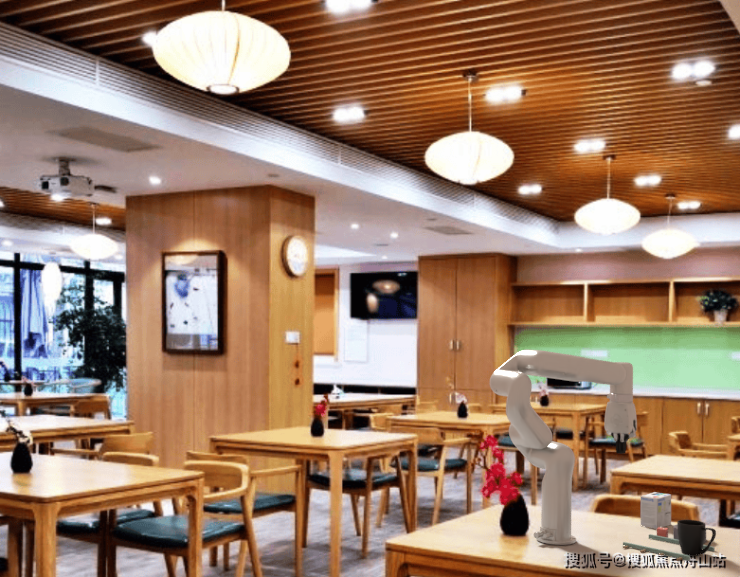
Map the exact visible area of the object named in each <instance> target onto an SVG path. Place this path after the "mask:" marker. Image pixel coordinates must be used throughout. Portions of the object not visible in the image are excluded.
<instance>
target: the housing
mask: <svg viewBox="0 0 740 577" xmlns="http://www.w3.org/2000/svg"><path fill="white" fill-rule="evenodd" d="M672 533H673V534H672V535H673V536H672V539H677V540H678V533H677V524H674V525H673V532H672ZM705 543H707V530H705V541H704V544H705Z"/></svg>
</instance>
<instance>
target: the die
mask: <svg viewBox="0 0 740 577" xmlns="http://www.w3.org/2000/svg"><path fill="white" fill-rule="evenodd" d="M656 535H657V536H662V537H667V538H669V528H668V527H658V528H657V529H656Z"/></svg>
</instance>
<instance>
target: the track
mask: <svg viewBox="0 0 740 577" xmlns="http://www.w3.org/2000/svg"><path fill="white" fill-rule="evenodd" d="M650 538H652V539H651V540H655V539H656V540H655V541H659V540H660V542H664V541H666V542H665V543H669V542H670V544H674V545H679V546H680V544H679V540H677V539H674V538H673V537H668V538H667V537H662V536H657V534H652V533H649V534H648V539H650ZM623 545H625V546H623ZM707 545H708V544H707ZM707 545H706V544H704V545H703V548H702V550H703V549H705V548H706V546H707ZM627 547H632V548H631V549H633V548H637V549H636V550H638V549H641V550H639V552H643V553H645V552H644V551H646V552H647V551H650V552H649V553H652V552H654V553H653V554H657V553H660V554H657V556H658V555H664V554H665V555H664V556H666V555H668V557H670V556H672V557H671V558H675V557H676V561H677V562H679V561H682V560H684V561H690V560H691V556H690V555H685V554H683V553H678V552H673V551H669V550H664V549H661V548H660V549H659V548H655V547H650V546H644V545H641V544H636V543H632V542H627V541H623V542H622V549H623V548H627ZM627 549H628V548H627ZM708 551H710V552H715V547H714V546H711V545H710V547H709V548H708V550H707V552H708Z"/></svg>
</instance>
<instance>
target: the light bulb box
mask: <svg viewBox="0 0 740 577" xmlns="http://www.w3.org/2000/svg"><path fill="white" fill-rule="evenodd" d="M641 525H642V526H645V527H644V528H647V527H650V528H649V529H652V528H654V529H653V530H657V528H658V527H663V528H666V527H668V526H671V525H672V494H670V493H662V492H656V491H654V492H650V493H647V494H644V495H640V526H641ZM642 526H641V527H642Z"/></svg>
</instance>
